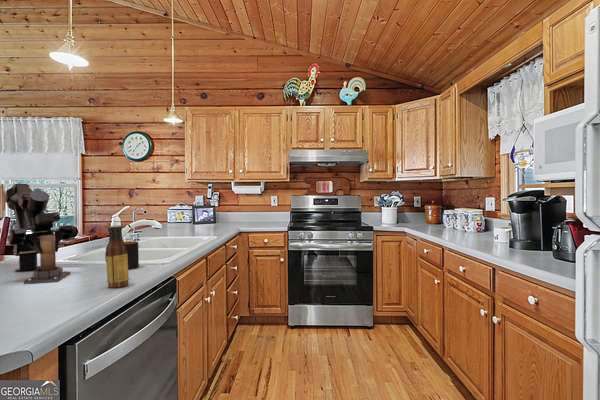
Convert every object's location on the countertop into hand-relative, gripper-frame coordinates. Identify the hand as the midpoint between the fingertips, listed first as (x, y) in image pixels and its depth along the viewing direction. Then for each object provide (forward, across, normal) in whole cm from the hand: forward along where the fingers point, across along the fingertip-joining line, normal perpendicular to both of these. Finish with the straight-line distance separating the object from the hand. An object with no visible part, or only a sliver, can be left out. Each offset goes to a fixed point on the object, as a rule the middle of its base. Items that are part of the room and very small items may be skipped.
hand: (49, 252), depth 123 cm
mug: (+10, +24, +4) cm, 26 cm away
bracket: (+6, 0, +8) cm, 10 cm away
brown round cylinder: (+4, 0, +6) cm, 7 cm away
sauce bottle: (+27, +9, -14) cm, 32 cm away
